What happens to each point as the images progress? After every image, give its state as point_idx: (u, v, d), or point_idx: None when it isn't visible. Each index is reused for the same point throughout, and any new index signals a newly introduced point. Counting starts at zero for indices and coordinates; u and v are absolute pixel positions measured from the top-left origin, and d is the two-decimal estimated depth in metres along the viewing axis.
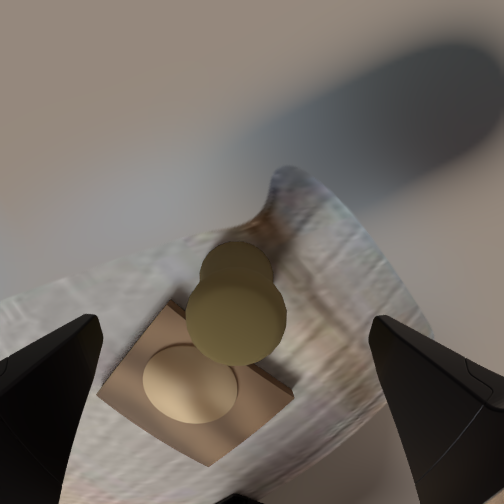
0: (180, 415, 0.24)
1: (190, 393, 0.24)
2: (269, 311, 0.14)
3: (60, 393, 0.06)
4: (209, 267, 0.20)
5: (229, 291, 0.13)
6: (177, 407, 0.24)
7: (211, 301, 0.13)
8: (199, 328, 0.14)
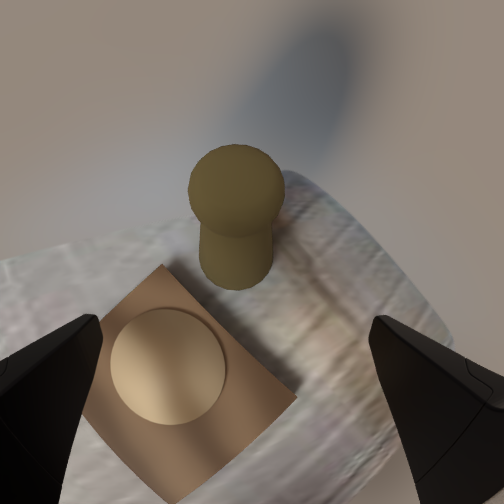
0: (146, 408, 0.18)
1: (165, 374, 0.19)
2: (268, 162, 0.15)
3: (60, 393, 0.06)
4: None
5: (234, 146, 0.15)
6: (145, 395, 0.18)
7: (217, 151, 0.15)
8: (202, 170, 0.14)
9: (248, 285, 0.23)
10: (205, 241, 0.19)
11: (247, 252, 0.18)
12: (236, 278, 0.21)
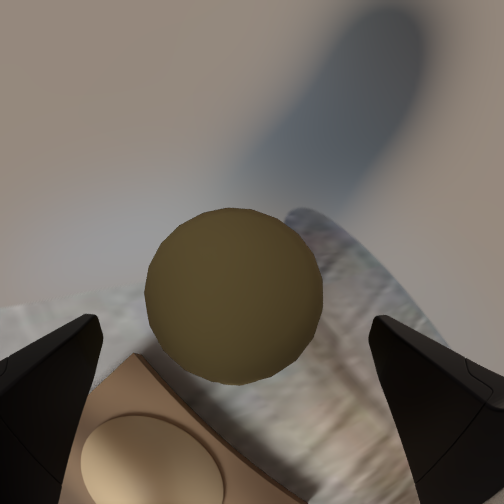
0: None
1: (148, 491, 0.11)
2: (295, 253, 0.08)
3: (60, 393, 0.06)
4: None
5: (228, 215, 0.08)
6: None
7: (195, 227, 0.08)
8: (165, 273, 0.07)
9: (252, 381, 0.16)
10: None
11: None
12: None
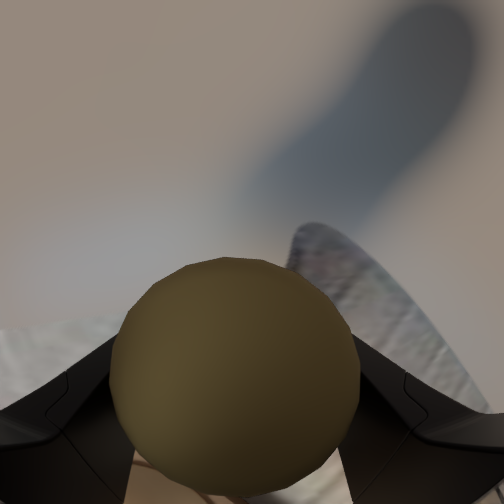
0: None
1: None
2: (328, 338, 0.05)
3: None
4: None
5: (225, 277, 0.05)
6: None
7: (173, 297, 0.05)
8: (131, 370, 0.04)
9: None
10: None
11: None
12: None
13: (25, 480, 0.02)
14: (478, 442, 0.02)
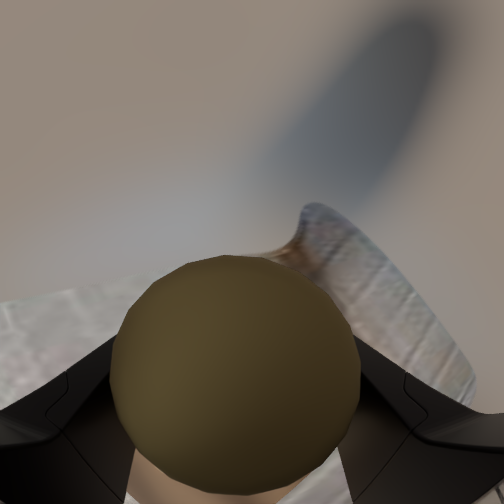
0: None
1: None
2: (329, 336, 0.05)
3: None
4: None
5: (225, 275, 0.05)
6: None
7: (174, 294, 0.05)
8: (132, 368, 0.04)
9: None
10: None
11: None
12: None
13: (25, 480, 0.02)
14: (478, 442, 0.02)
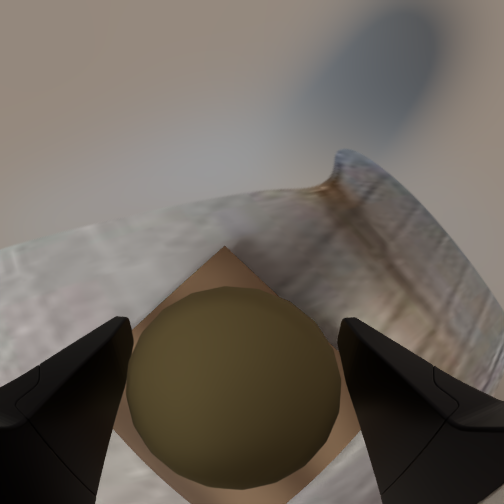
0: None
1: None
2: (311, 361, 0.06)
3: (96, 401, 0.06)
4: None
5: (225, 308, 0.06)
6: None
7: (181, 325, 0.06)
8: (146, 386, 0.05)
9: None
10: None
11: None
12: None
13: None
14: None
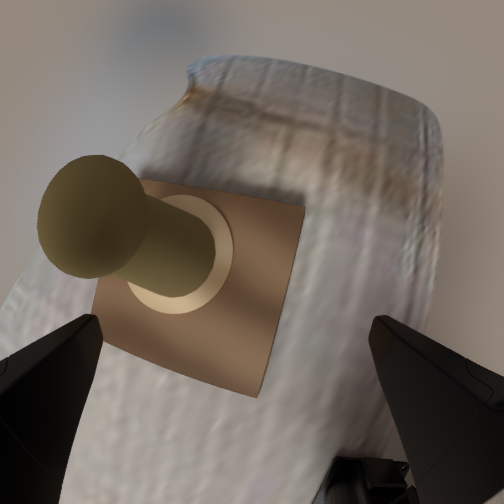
0: (177, 302, 0.19)
1: None
2: (92, 167, 0.10)
3: (60, 393, 0.06)
4: None
5: (58, 174, 0.10)
6: None
7: (45, 193, 0.10)
8: (40, 227, 0.10)
9: (201, 281, 0.19)
10: None
11: (158, 264, 0.14)
12: (179, 285, 0.17)
13: None
14: None
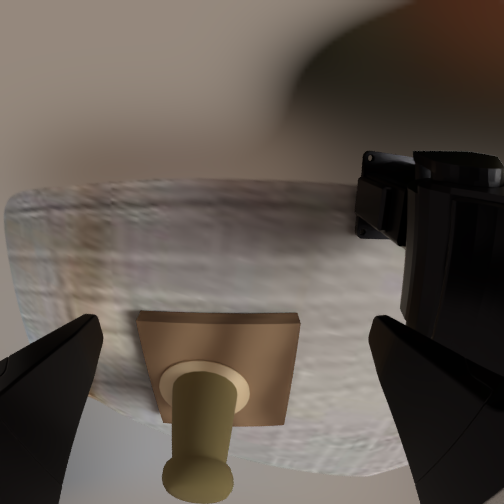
0: (238, 385, 0.25)
1: None
2: (172, 491, 0.15)
3: (60, 393, 0.06)
4: None
5: None
6: None
7: None
8: (213, 502, 0.16)
9: (217, 378, 0.24)
10: None
11: (211, 430, 0.19)
12: (223, 397, 0.22)
13: None
14: None
